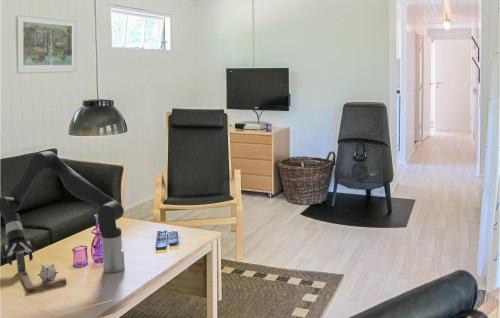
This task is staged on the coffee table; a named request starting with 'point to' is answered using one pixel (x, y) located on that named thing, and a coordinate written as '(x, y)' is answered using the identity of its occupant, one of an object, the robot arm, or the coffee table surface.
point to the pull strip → (26, 279)
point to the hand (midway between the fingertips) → (21, 262)
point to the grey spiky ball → (47, 273)
